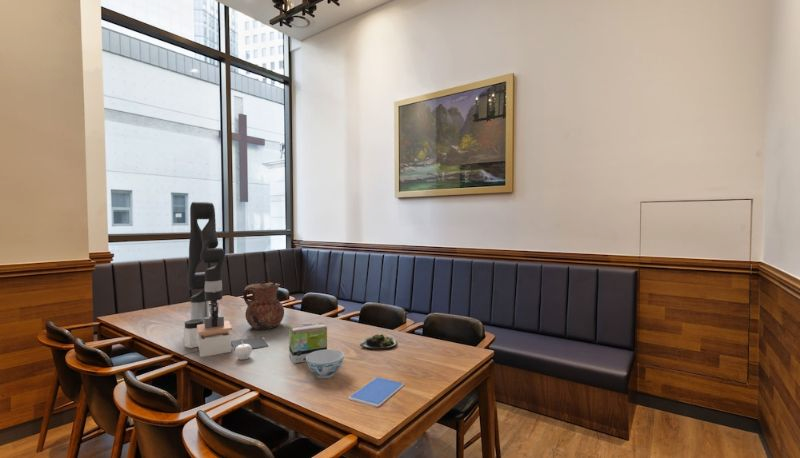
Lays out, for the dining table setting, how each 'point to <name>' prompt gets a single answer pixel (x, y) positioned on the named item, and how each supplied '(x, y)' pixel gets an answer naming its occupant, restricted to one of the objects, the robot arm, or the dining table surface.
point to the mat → (251, 342)
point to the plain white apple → (243, 351)
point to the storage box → (214, 344)
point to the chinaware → (325, 362)
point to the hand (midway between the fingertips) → (214, 325)
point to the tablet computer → (376, 391)
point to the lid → (209, 330)
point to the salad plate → (378, 343)
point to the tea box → (306, 340)
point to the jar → (191, 333)
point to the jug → (263, 306)
